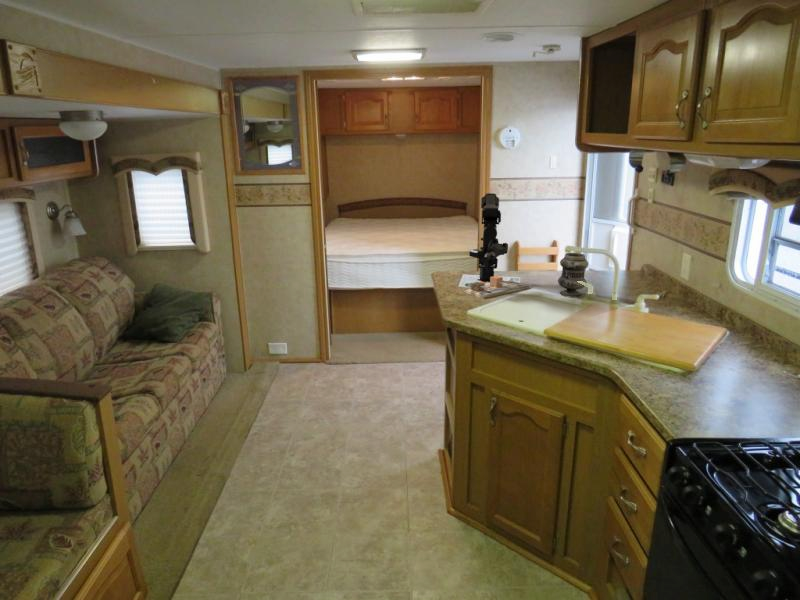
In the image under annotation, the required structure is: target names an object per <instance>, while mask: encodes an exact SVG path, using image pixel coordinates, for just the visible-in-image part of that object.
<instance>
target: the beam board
mask: <svg viewBox="0 0 800 600" xmlns="http://www.w3.org/2000/svg"><path fill="white" fill-rule="evenodd" d="M503 283H507V284H509V286H507V285H503V284H502V286H500V287H494V286H490V284H487V285H484V287H487V288H490V290H487V289H484V290H482V291H478V292H477V291H474V290H471V288H469V289H464V293H465V294H469V295H470V296H475V297H478V298H481V299H488V298H492V297H495V296H501V295H505V294H510V293H514V292H517V291H516V290H518V291H522V290H521V289H523V290H525V288H527V289H530V288H531V285H529V284H526V283H521V282H518V281H514V280H507V281H503ZM529 287H530V288H529ZM513 291H514V292H513Z"/></svg>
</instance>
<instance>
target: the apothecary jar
mask: <svg viewBox="0 0 800 600" xmlns="http://www.w3.org/2000/svg"><path fill="white" fill-rule="evenodd" d="M559 265H560V266H561V267H562V270H561V276H560V277H559V278H558V279H557V283H558V285H559V286H560V287H562V288H564V289H563V290H560V291H559V293H560V294H561V296H563V295H565V296H564V297H566V296H570V297H569V298H580V297H583V293H582V292H581V291H579V290H581V289H583V288H585V287H586V286H584V285H582V284H580V283H578V282H577V281H583V282H585V283H587V282H588V281H587V280H586V279H585V271H586V269H587V268H588V267H589V261H588V259H586V255H585V254H584V253H580V252H567V253H564V257H563V258H562V259H560V262H559ZM560 294H559V295H560Z"/></svg>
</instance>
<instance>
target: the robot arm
mask: <svg viewBox="0 0 800 600" xmlns="http://www.w3.org/2000/svg"><path fill="white" fill-rule="evenodd" d="M480 201H481V202H480V209H481V225H483V229H482V231H483V232H482V237H481V238H480V241H482V246H480V248H479V249H477V248H475V249H471V250H469V257H471V258H476V259H478V264H477V266H478V269H479V278H480V280H479V281H481V280H483V281H482V282H485V281H489V282H490V277H492V276H495V270H496V269H498V263H499V262H498V261H499V259H498V257H499V256H504V255H505V254H508V250H509V243H507V242H503V243H499V239H498V238H497V236H498V231H497V225H500V223H502V222H501V221H502V213H501V210H499V209H500V207H499V206H500V197H498V196H497V193H492V192H491V193H490V192H488V193H485V195H484V196H483V197H481V199H480Z"/></svg>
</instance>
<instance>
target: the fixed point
mask: <svg viewBox="0 0 800 600" xmlns="http://www.w3.org/2000/svg"><path fill="white" fill-rule="evenodd" d="M484 286H485V282H484V283H482V282H480V281H475V282H471V283H470V289H471V290H474V291H477V292H478V291H482V290H484V289H487V290H490V288H487V287H484Z"/></svg>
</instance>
